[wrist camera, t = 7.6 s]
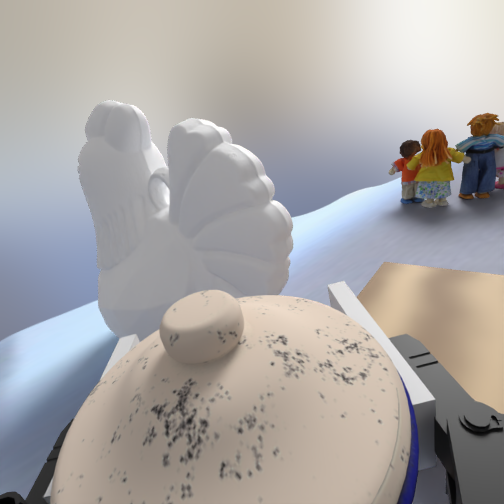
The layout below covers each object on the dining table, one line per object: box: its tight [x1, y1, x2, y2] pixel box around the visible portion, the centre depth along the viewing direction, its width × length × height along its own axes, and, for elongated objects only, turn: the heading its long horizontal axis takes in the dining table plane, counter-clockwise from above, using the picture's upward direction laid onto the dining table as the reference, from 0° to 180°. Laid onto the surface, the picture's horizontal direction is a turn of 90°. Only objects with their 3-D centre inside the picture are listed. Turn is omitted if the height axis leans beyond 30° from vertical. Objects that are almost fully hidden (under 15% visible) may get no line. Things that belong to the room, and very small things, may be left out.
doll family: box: [389, 113, 504, 208], centre depth 51 cm, size 21×10×13 cm, turn 81°
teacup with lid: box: [50, 290, 419, 504], centre depth 11 cm, size 12×9×12 cm
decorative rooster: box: [78, 100, 293, 342], centre depth 30 cm, size 25×16×25 cm, turn 39°
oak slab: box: [357, 262, 504, 414], centre depth 24 cm, size 13×15×4 cm
